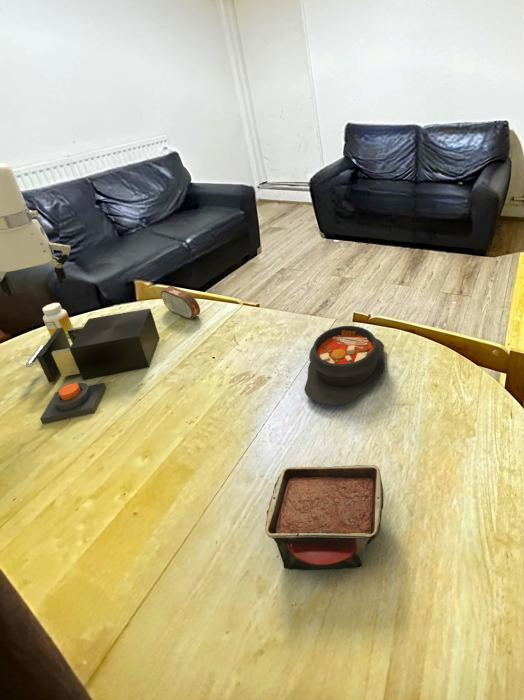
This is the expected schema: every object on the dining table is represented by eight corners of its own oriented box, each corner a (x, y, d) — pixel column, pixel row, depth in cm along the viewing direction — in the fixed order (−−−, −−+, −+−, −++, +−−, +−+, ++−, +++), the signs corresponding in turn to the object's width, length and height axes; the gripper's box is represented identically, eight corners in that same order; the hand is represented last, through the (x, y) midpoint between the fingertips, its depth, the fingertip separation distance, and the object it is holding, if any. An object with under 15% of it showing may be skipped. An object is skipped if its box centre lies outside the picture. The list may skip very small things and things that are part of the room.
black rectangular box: (83, 380, 101) (69, 348, 97) (100, 348, 112) (88, 318, 108) (149, 367, 104) (138, 336, 100) (159, 337, 116) (150, 308, 112)
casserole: (336, 334, 114) (334, 308, 110) (400, 348, 107) (399, 321, 104) (285, 399, 93) (280, 370, 89) (361, 421, 86) (358, 390, 83)
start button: (58, 402, 90) (55, 396, 90) (65, 391, 93) (62, 385, 93) (77, 398, 91) (74, 392, 90) (83, 387, 94) (80, 381, 94)
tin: (203, 318, 124) (197, 294, 120) (194, 323, 121) (187, 299, 118) (172, 305, 131) (165, 282, 127) (163, 310, 128) (156, 287, 125)
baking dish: (298, 488, 75) (281, 454, 71) (394, 486, 72) (382, 450, 68) (272, 583, 63) (250, 549, 58) (387, 585, 60) (372, 549, 55)
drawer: (28, 386, 98) (14, 360, 95) (49, 356, 108) (38, 331, 105) (111, 370, 102) (101, 344, 99) (124, 342, 113) (116, 318, 109)
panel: (42, 424, 89) (36, 412, 87) (58, 397, 96) (52, 386, 94) (94, 413, 91) (89, 401, 90) (106, 387, 98) (101, 376, 97)
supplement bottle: (73, 327, 122) (62, 299, 118) (75, 335, 118) (63, 306, 114) (51, 334, 119) (38, 306, 115) (52, 343, 115) (39, 314, 111)
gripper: (58, 207, 98) (81, 271, 105) (-40, 223, 89) (-7, 291, 96) (56, 216, 92) (81, 283, 99) (-49, 234, 84) (-14, 306, 90)
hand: (37, 287), depth 98 cm, fingers open, 9 cm apart
